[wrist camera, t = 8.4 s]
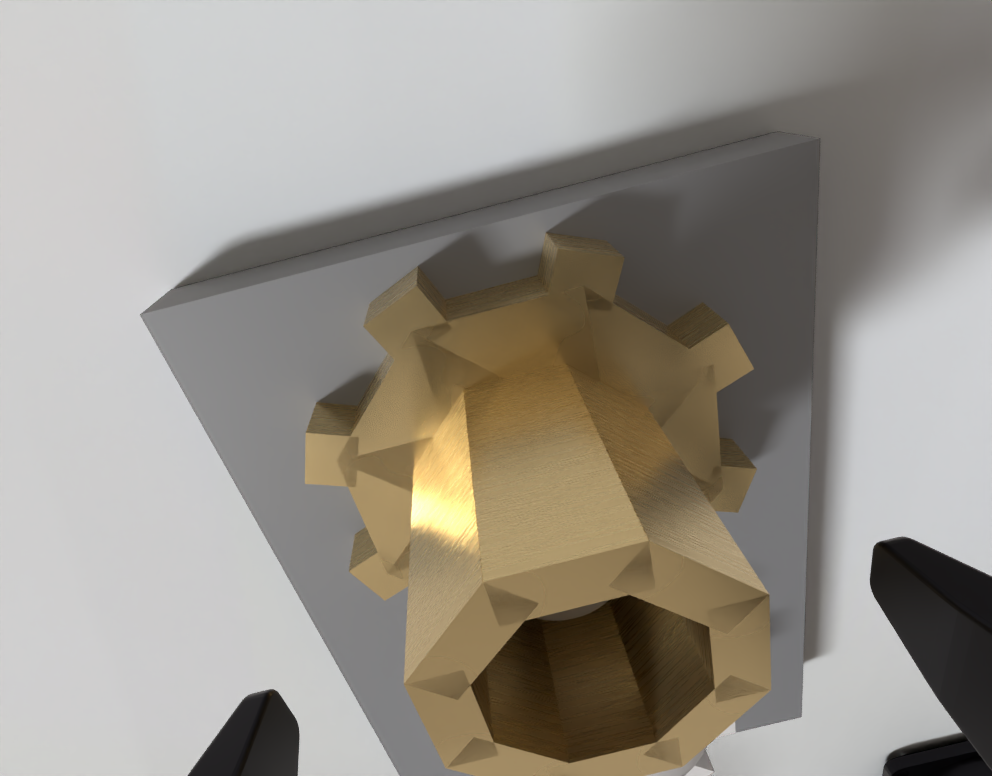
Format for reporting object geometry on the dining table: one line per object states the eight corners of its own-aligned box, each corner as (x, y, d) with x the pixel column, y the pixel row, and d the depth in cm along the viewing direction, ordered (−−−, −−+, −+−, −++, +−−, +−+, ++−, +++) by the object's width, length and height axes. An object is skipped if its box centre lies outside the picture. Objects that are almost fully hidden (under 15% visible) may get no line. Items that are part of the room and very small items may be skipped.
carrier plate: (777, 131, 12) (1010, 167, 7) (777, 676, 21) (884, 860, 16) (171, 289, 12) (3, 425, 8) (418, 761, 21) (414, 967, 16)
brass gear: (719, 186, 11) (984, 287, 6) (737, 542, 15) (898, 787, 10) (249, 310, 11) (87, 517, 6) (398, 626, 16) (381, 909, 10)
